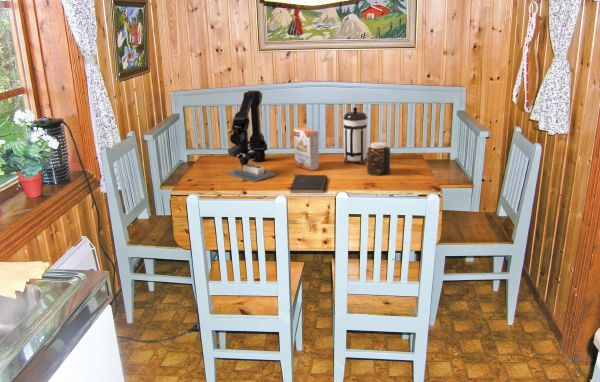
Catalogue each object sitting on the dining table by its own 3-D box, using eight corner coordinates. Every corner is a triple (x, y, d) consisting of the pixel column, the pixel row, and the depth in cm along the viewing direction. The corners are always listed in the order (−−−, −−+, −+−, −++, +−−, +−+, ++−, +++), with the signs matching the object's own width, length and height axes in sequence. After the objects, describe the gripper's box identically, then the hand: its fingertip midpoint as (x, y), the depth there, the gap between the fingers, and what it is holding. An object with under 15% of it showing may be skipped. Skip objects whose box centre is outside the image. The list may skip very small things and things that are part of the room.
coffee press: (335, 160, 312) (334, 107, 302) (360, 156, 318) (360, 104, 309) (350, 167, 297) (350, 111, 287) (376, 163, 303) (377, 108, 294)
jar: (389, 176, 280) (389, 146, 276) (366, 175, 282) (366, 146, 278) (390, 169, 291) (391, 141, 286) (368, 169, 293) (368, 141, 289)
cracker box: (294, 166, 303) (293, 128, 297) (303, 164, 307) (302, 126, 300) (310, 171, 293) (309, 132, 286) (319, 169, 296) (318, 130, 290)
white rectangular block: (243, 172, 291) (242, 164, 290) (249, 170, 294) (249, 162, 292) (258, 176, 283) (257, 168, 281) (264, 175, 285) (263, 166, 284)
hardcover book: (289, 193, 260) (289, 189, 260) (295, 179, 282) (295, 175, 281) (324, 193, 259) (324, 189, 258) (327, 179, 280) (327, 174, 280)
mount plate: (228, 174, 293) (227, 169, 292) (249, 168, 302) (248, 164, 301) (254, 182, 278) (253, 176, 277) (275, 175, 287) (274, 170, 286)
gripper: (218, 140, 289) (221, 169, 294) (241, 145, 276) (243, 175, 281) (236, 136, 297) (237, 164, 302) (258, 141, 284) (260, 171, 289)
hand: (244, 169), depth 293 cm, fingers closed
